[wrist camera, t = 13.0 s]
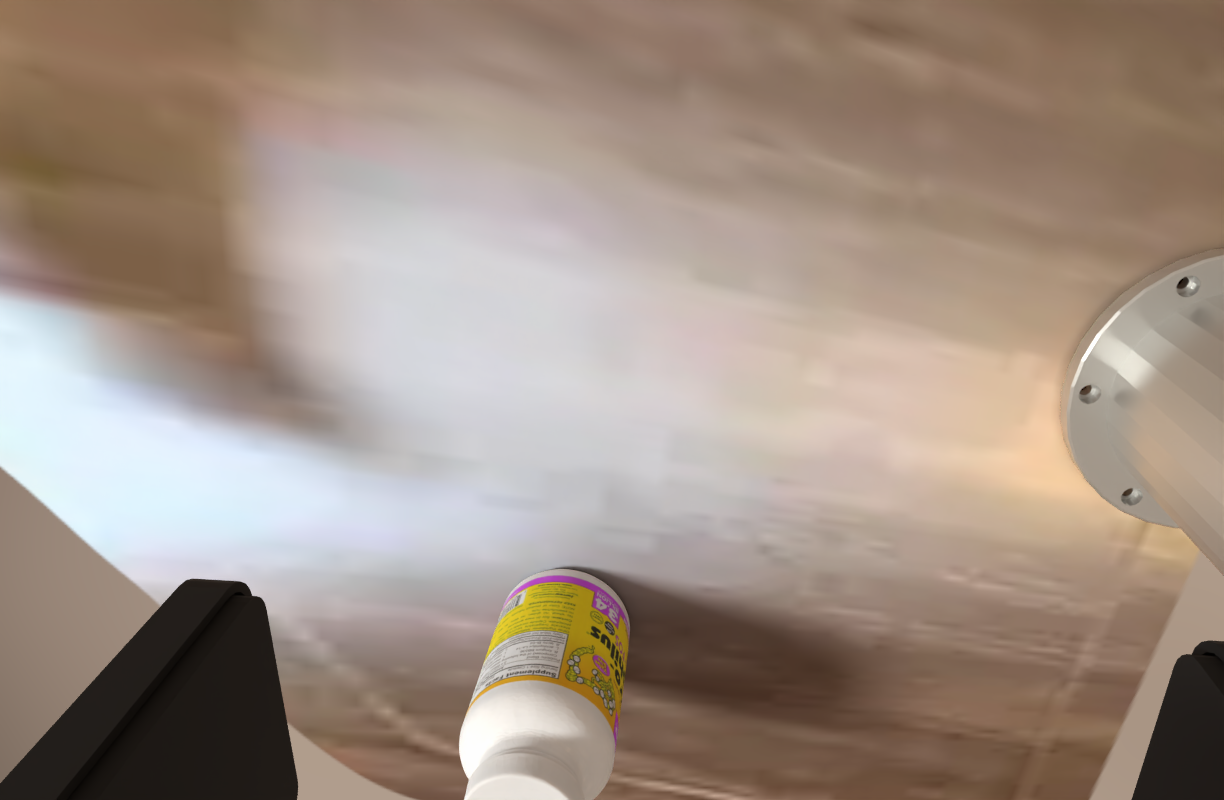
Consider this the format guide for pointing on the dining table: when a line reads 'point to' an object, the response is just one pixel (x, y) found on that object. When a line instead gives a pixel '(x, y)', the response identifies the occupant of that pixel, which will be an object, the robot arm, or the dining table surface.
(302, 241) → the dining table surface
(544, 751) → the supplement bottle
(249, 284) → the dining table surface
